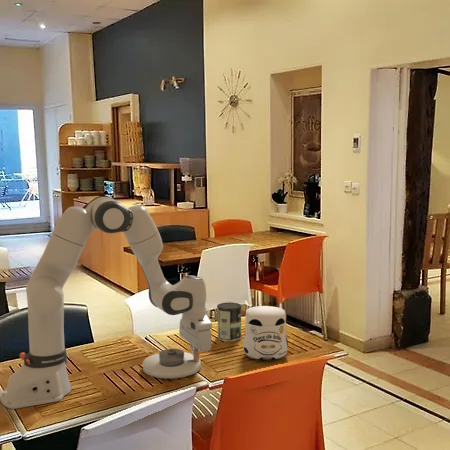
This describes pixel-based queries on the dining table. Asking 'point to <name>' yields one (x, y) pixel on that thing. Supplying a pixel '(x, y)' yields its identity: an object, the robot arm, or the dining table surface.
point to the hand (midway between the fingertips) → (194, 355)
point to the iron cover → (171, 357)
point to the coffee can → (229, 321)
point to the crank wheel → (159, 371)
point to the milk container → (265, 333)
